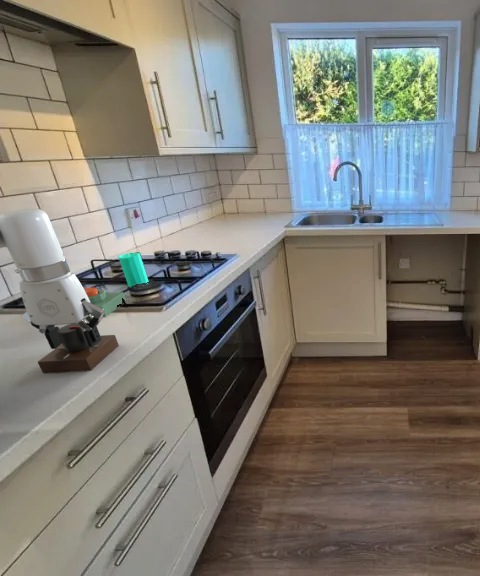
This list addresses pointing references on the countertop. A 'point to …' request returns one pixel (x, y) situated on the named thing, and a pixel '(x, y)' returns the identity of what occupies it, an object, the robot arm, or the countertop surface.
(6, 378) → the countertop surface
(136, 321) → the countertop surface
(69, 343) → the dial
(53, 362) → the brown dial base
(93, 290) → the orange push button
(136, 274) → the candle
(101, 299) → the green button box
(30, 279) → the robot arm
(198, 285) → the countertop surface
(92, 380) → the countertop surface
